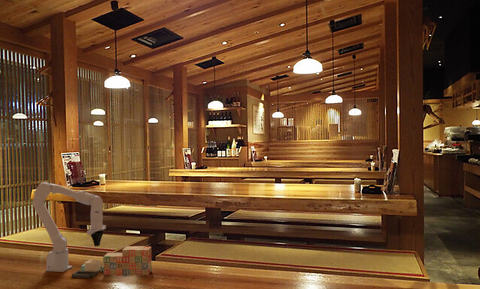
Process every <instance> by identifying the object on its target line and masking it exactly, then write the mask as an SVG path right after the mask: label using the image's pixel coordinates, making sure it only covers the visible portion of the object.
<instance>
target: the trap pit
mask: <svg viewBox="0 0 480 289" xmlns="http://www.w3.org/2000/svg"><path fill="white" fill-rule="evenodd" d="M96 276H98V272H94V271H81V270H77V271H75V272H73V273H72V274H71V278H73V279H75V278H76V279H93V278H95V277H96Z"/></svg>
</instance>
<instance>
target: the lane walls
mask: <svg viewBox="0 0 480 289" xmlns="http://www.w3.org/2000/svg"><path fill="white" fill-rule="evenodd" d="M80 271H85V263H84V264H82V265H81V266H80ZM102 271H103V272H102ZM100 273H104V264H103V265H102V266H101V265H100Z"/></svg>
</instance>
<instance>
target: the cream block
mask: <svg viewBox="0 0 480 289" xmlns="http://www.w3.org/2000/svg"><path fill="white" fill-rule="evenodd" d="M84 264H85V271H94V272H97V271H98V272H100V271H101V260H100V259H89V260H87V261H85V262H84ZM99 270H100V271H99ZM98 272H97V273H98Z"/></svg>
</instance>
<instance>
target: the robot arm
mask: <svg viewBox="0 0 480 289" xmlns="http://www.w3.org/2000/svg"><path fill="white" fill-rule="evenodd" d="M50 194H51V195H55V194H61V195H64V196H67V197H71V198H74V200H75V201H76V202H78V203H80V204H83V205H87V206H90V228H89V230H87V231H86V235H87V236H90V237H91V239H92V241H93V245H94V247H100V245H101V241H102V237H103V235H104V234H105V230H106V229H107V224H103V219H104V218H103V217H104V216H103V205H104V201H103V199H102V197H100V196H99V195H95V193H89V192H87V191H86V190H84V189H83V190H78V191H76V190H74V189H70V188H68V187H65V186H62V185H60V184H56V183H50V182H48V181H43V182H40V183H39V184H38V186H37V187H36V189H35V190H34V193H33V200H32V207H33V208H34V210H35V212H36V214H37V215H38V217H39V219H40V222H41V223H42V224H43V227H44V229H45V230H46V232H47V234H48V235H49V238H50V241H51V243H52V250H51V251H49V252H48V253H47V255H46V260H45V261H46V269H45V272H58V273H59V272H60V273H63V272H65V271H67V270H69V269H71V268H72V267H73V265H69V249H68V240H67V238H66V237H65V236H63V234H62V233H61V232H60V229H59V228H58V226H57V224H56V222H55V221H54V219H53V218H52V216H51V213H50V211H49V210H48V208H47V206H46V205H45V201H46V199H47V197H48V196H49V195H50Z"/></svg>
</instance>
